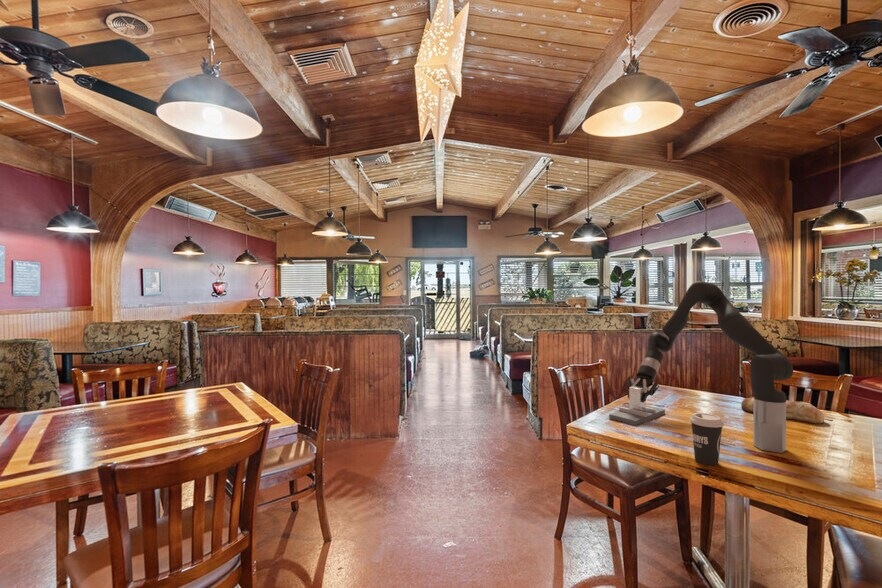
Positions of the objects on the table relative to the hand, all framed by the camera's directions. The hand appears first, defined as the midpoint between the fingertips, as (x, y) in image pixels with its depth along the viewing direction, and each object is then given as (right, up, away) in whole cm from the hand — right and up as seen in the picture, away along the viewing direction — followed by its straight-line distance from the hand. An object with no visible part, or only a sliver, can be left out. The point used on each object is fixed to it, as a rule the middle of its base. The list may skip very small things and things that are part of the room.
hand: (635, 399), depth 188 cm
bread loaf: (+65, -8, +1) cm, 65 cm away
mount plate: (+1, -8, +1) cm, 8 cm away
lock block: (+2, -5, +1) cm, 5 cm away
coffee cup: (+1, -8, -48) cm, 49 cm away
